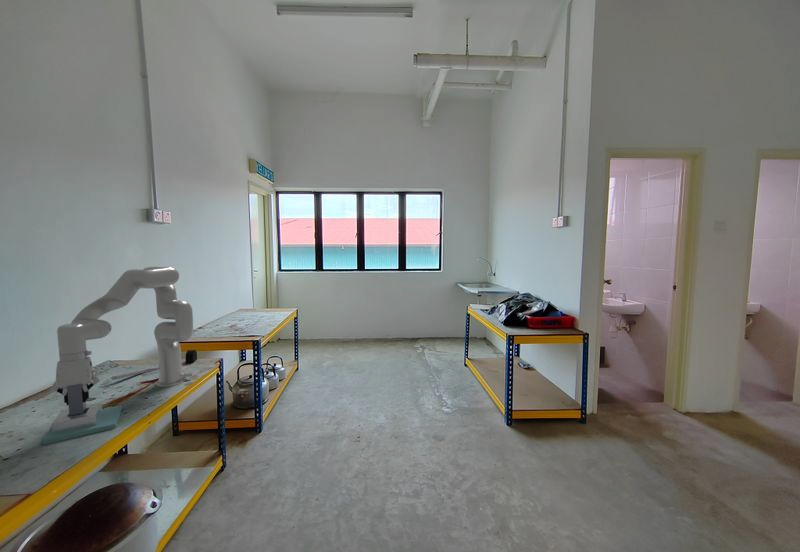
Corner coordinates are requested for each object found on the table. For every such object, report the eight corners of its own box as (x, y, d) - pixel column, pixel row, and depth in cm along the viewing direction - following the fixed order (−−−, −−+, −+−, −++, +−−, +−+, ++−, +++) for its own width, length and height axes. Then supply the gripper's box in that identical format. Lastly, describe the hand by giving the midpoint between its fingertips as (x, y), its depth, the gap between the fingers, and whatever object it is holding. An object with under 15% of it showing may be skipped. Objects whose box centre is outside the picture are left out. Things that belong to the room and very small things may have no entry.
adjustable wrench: (113, 380, 170) (113, 376, 170) (105, 379, 172) (105, 375, 172) (163, 369, 193) (163, 365, 193) (155, 368, 195) (155, 365, 195)
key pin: (86, 408, 134) (83, 378, 133) (83, 412, 130) (81, 382, 129) (72, 410, 132) (69, 381, 131) (69, 415, 128) (66, 384, 127)
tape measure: (193, 365, 200) (192, 352, 199) (185, 365, 199) (184, 352, 198) (201, 357, 214) (200, 344, 213) (193, 357, 213) (193, 345, 212)
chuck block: (122, 409, 146) (121, 396, 145) (115, 428, 131) (114, 413, 130) (58, 422, 135) (56, 408, 135) (42, 445, 120) (41, 428, 119)
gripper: (104, 350, 137) (107, 393, 138) (45, 357, 128) (50, 404, 129) (100, 355, 131) (103, 401, 132) (38, 363, 122) (43, 412, 123)
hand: (77, 401), depth 131 cm, fingers closed on key pin, 4 cm apart
